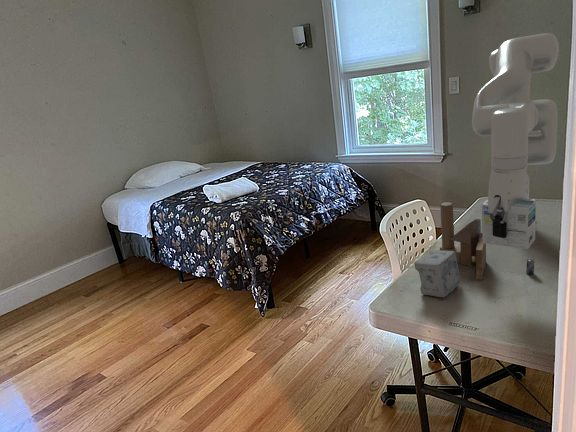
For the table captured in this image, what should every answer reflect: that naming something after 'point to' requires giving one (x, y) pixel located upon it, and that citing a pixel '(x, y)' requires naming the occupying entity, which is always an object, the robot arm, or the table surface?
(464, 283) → the table surface
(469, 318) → the table surface
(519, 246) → the light bulb box
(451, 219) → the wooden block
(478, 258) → the door
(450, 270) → the incense holder
